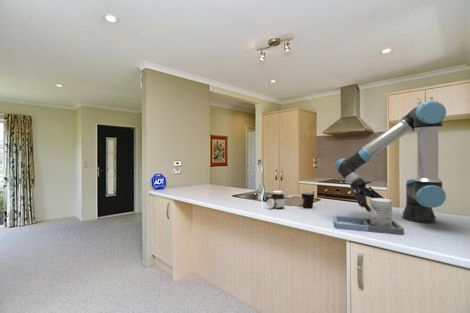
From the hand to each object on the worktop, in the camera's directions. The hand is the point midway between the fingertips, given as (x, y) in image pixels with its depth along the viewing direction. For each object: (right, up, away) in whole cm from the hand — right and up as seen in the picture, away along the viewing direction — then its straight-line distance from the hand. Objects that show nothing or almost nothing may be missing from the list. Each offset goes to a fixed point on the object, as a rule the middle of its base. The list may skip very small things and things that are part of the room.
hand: (383, 214), depth 121 cm
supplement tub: (0, -7, +1) cm, 8 cm away
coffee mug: (-23, -7, +49) cm, 55 cm away
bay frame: (-7, -7, +4) cm, 11 cm away
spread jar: (-47, -7, +46) cm, 66 cm away
